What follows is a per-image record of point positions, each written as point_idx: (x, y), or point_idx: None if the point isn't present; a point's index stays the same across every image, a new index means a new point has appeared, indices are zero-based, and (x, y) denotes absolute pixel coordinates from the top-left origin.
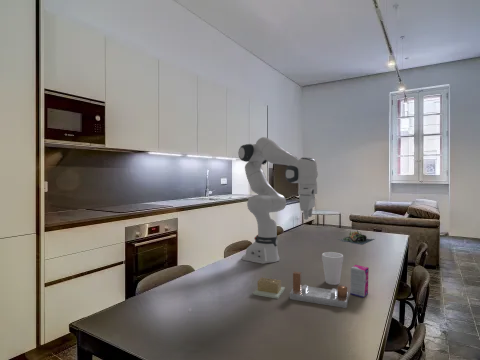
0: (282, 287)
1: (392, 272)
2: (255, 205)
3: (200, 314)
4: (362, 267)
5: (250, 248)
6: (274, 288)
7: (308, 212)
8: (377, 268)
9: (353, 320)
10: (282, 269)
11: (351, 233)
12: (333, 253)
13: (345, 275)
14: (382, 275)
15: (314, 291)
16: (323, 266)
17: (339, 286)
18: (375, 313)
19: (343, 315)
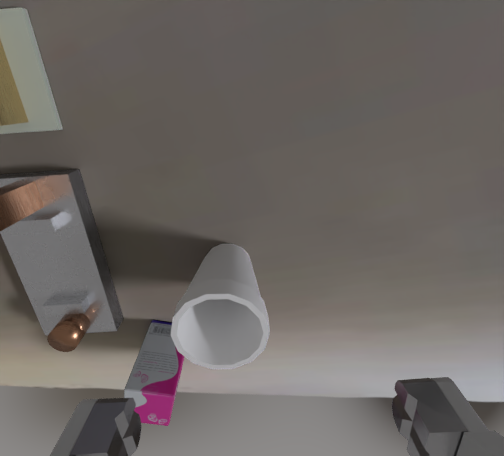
0: (49, 121)
1: (394, 391)
2: None
3: None
4: (153, 414)
5: None
6: None
7: (478, 448)
8: (426, 359)
9: (3, 341)
10: (296, 23)
11: None
12: (262, 328)
13: (316, 288)
14: (356, 372)
15: (52, 250)
16: (214, 266)
17: (62, 334)
18: (73, 372)
19: (10, 321)
